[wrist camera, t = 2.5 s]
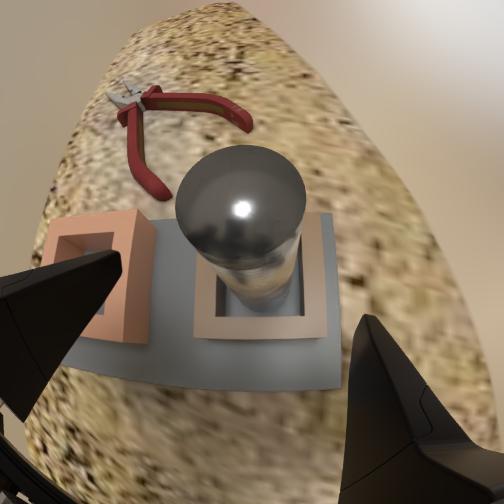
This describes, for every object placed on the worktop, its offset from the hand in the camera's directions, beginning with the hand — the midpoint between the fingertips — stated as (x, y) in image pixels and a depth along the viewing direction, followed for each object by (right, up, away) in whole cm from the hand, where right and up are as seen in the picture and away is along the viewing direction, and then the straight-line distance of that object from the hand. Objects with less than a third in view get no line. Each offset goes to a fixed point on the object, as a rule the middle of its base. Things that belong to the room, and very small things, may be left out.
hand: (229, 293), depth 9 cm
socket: (-10, -1, +10) cm, 15 cm away
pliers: (-8, +15, +17) cm, 24 cm away
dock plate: (-4, -2, +10) cm, 11 cm away
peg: (+1, -1, +9) cm, 9 cm away
